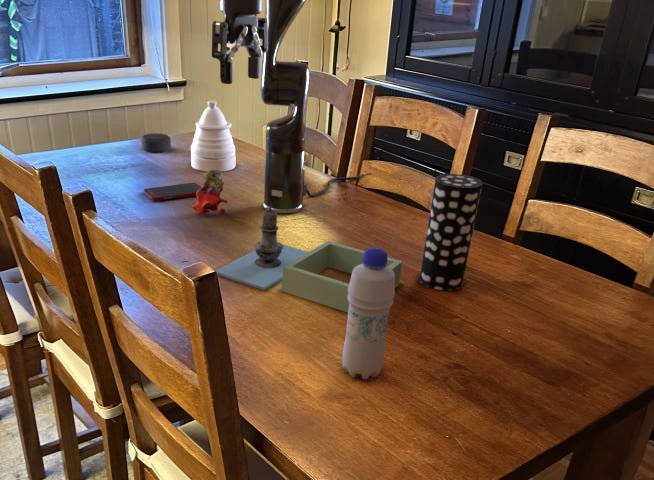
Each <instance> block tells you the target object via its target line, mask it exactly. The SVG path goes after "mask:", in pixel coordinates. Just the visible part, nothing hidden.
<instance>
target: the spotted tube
mask: <svg viewBox="0 0 654 480" xmlns="http://www.w3.org/2000/svg"><path fill="white" fill-rule="evenodd" d="M482 188H483V181H482V180H480V178H477V177H474V176H471V175H465V174H458V173H444V174H440V175H437V176H436V177H435V180H434V186H433V192H432V197H431V198H432V199H431V203H430V204H431V205H430V211H429V216H428V217H429V218H428V223H427V230H426V235H425V242H424V249H423V255H422V260H421V261H422V262H421V269H420V273H419V282H420V283H421V284H422V285H424V286H426V287H428V288H431V289H434V290H439V291H454V290H458V289H460V288H461V287H463V283H464V279H465V273H466V269H467V264H468V259H469V254H470V249H471V244H472V238H473V233H474V229H475V223H476V218H477V213H478V210H479V209H478V208H479V203H480V198H481V193H482Z"/></svg>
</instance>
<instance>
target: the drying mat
mask: <svg viewBox="0 0 654 480" xmlns="http://www.w3.org/2000/svg"><path fill="white" fill-rule="evenodd" d="M282 245H283V249H282V252H281V254H280V256H279V257H278V258H277V259H279V260H280V261H281V265H280V266H278V267H275V268H263V267H260V266H257V265H256V264H255V261H256V259H258V258H260V257H259V256H258V255H257V253H256V251H255V249H254V250H251V251H250V252H248V253H246V254H244V255H242V256H240V257H239V258H236V259H234V260H233V261H230V262H229V263H226V264H225V265H223V266H221V267H219V268H217V269H215V270H216V271H217V272H218V275H217V276H219V277H222V278H225V279H228V280H231V281H234V282H237V283H240V284H244V285H246V286H249V287H252V288H255V289H259V290H261V291H266V290H268V288H271V287H272V286H274V285H276V284H277V283H279V282H281V281H282V278H283V267H284V266H285V265H287V264H289V263H290V262H292V261H294V260H296V259H297V258H299V257H301V256H303V255H304V254H306V253H308V252H309V251H306V250H303V249H299V248H296V247H293V246H289V245H285V244H282Z"/></svg>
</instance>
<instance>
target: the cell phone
mask: <svg viewBox="0 0 654 480" xmlns="http://www.w3.org/2000/svg"><path fill="white" fill-rule="evenodd" d="M201 188H202V185H199V184H198V183H196V182H188V183H181V184H173V185H171V184H170V185H164V186H156V187H149V188H144V189H143V191H142V192H143V194H144V195H145V196H146V197H148V198H149V199H150V200H151V201H152V202H158V201H164V200H165V201H166V200H172V199H181V198H187V197H194V196H195V197H197V196H196V192H197V191H198V190H199V189H201Z"/></svg>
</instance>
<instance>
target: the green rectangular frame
mask: <svg viewBox="0 0 654 480" xmlns="http://www.w3.org/2000/svg"><path fill="white" fill-rule="evenodd" d="M365 251H366V250H363V249H359V248H356V247H352V246H348V245H345V244H341V243H339V242H338V243H337V242H334V241H330V240H326V241H325V242H324V243H323V242H322V243H321V244H320V245H318V246H316V247H315V248H313V249H311V250H309V251H307V252H308V253H306V254H304V255H303V256H301V257H299V258H297V259H296V260H294V261H292V262H290V263H289V264H287V265H285V266H284V267H283V278H282V280H281V292H282V293H285V294H289V295H292V296H296V297H298V298H301V299H305V300H307V301H310V302H313V303H316V304H320V305H323V306H326V307H329V308H332V309H335V310H338V311H341V312H344V313H347V314H348V310H349V301H348V298H347V297H348V287H349V283H347V282H344V281H342V280H338V279H335V278H331V277H328V276H325V275H321V274H319V273H321V272H322V271H324V270H326V269H328V268H330V269H334V270H337V271H340V272H343V273H346V274H351V275H352V271H353V269H354V268H355V267H356V266H358V265H360V264H363V255H364V252H365ZM386 266H387V267H389V268H390V269H392V270H393V272H394V274H395V289H396V288H398V287H399V286H400V281H401V273H402V268H403V267H402V266H403V260H399V259H397V258H396V259H395V258H392V257H388V259H387V265H386Z"/></svg>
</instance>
